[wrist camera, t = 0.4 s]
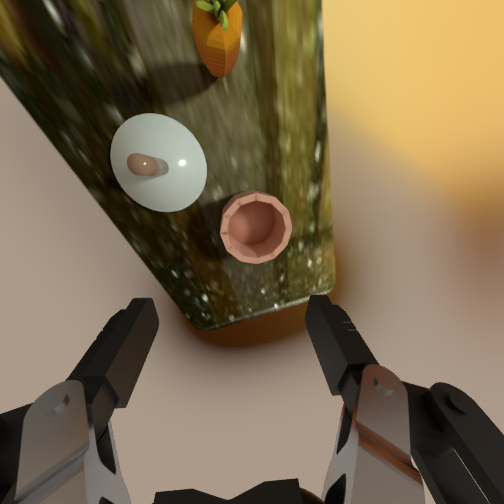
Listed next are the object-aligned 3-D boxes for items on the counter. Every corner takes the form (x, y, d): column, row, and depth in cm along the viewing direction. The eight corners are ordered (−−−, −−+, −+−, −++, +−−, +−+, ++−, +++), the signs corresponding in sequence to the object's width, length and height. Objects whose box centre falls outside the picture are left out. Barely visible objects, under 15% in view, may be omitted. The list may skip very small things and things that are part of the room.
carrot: (242, 66, 28) (263, -41, 14) (226, 101, 29) (230, 36, 15) (210, 40, 26) (198, -109, 12) (195, 79, 27) (168, -17, 14)
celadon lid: (94, 132, 28) (33, 112, 19) (185, 102, 28) (168, 69, 19) (143, 221, 34) (115, 239, 25) (219, 196, 34) (218, 204, 25)
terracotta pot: (212, 201, 34) (209, 208, 28) (270, 181, 34) (282, 183, 28) (232, 255, 38) (234, 271, 32) (284, 237, 39) (297, 250, 32)
